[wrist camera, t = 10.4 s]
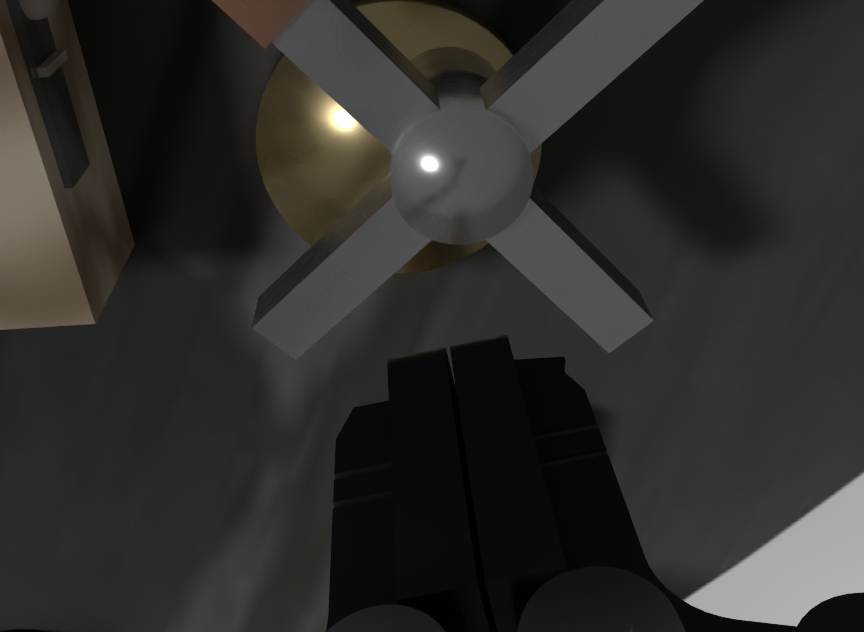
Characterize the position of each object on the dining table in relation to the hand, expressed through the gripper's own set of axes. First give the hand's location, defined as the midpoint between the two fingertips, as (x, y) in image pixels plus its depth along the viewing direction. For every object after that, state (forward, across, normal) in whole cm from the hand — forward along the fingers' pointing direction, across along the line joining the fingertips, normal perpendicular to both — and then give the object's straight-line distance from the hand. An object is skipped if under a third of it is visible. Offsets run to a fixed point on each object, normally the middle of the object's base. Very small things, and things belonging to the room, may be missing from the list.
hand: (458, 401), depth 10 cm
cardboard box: (+24, +16, -2) cm, 29 cm away
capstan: (+24, -1, +4) cm, 24 cm away
